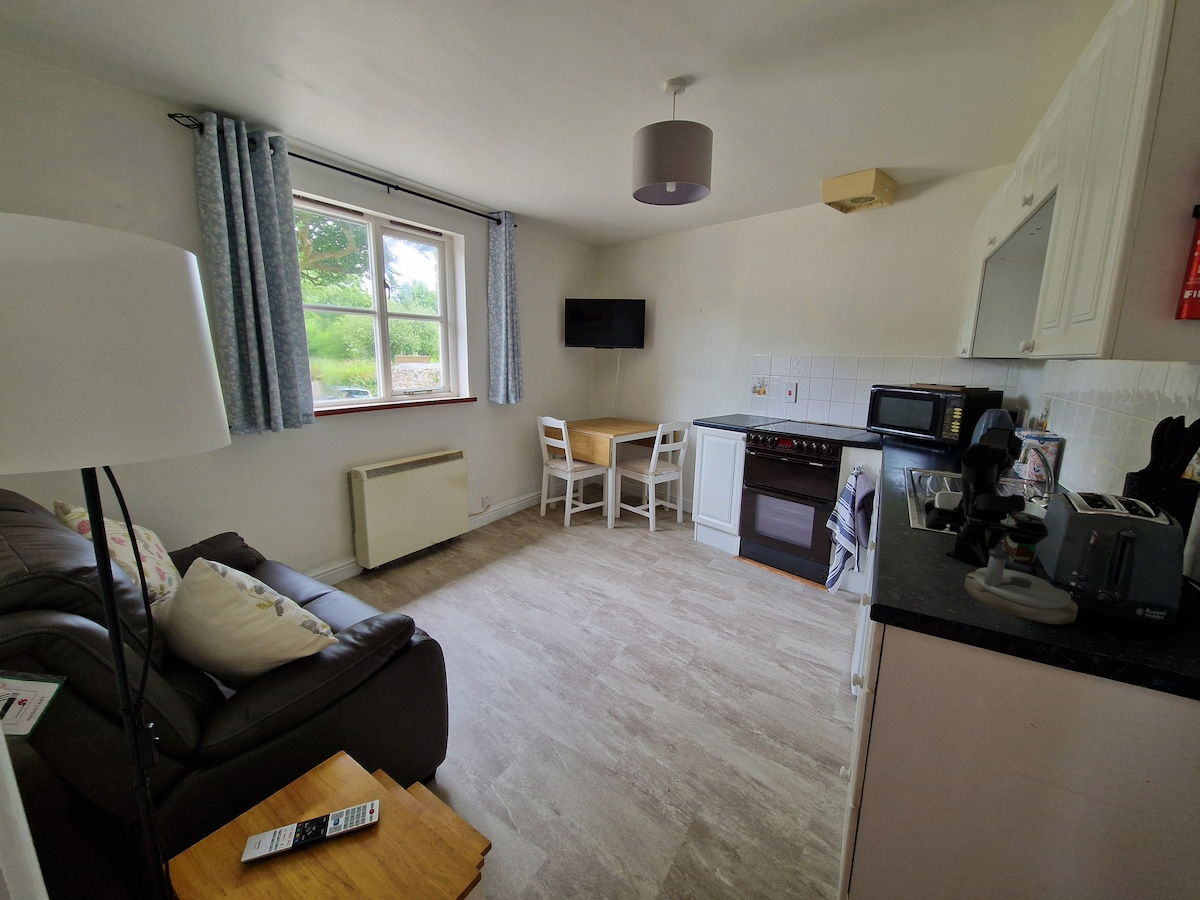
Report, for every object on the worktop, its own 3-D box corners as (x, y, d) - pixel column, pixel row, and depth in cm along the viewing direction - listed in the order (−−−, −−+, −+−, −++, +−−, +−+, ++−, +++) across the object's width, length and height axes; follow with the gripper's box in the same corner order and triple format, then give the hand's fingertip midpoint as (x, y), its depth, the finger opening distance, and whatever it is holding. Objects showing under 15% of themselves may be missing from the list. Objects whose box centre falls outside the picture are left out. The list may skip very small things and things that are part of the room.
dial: (962, 567, 98) (969, 533, 96) (1043, 579, 93) (1052, 543, 92) (992, 600, 85) (1001, 560, 83) (1088, 615, 80) (1100, 574, 79)
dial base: (990, 574, 100) (992, 565, 100) (1092, 612, 86) (1095, 602, 85) (947, 588, 94) (949, 578, 93) (1049, 632, 79) (1052, 621, 79)
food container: (1049, 571, 103) (1060, 530, 100) (1014, 564, 106) (1024, 524, 103) (1031, 551, 113) (1041, 513, 111) (1000, 545, 116) (1008, 509, 114)
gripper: (941, 470, 93) (945, 539, 86) (1057, 484, 86) (1072, 561, 79) (923, 495, 102) (925, 559, 95) (1027, 510, 95) (1038, 580, 88)
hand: (986, 564), depth 89 cm, fingers closed, pressing on dial
